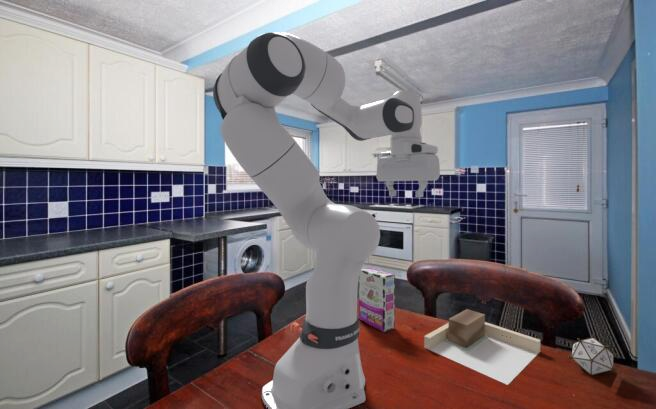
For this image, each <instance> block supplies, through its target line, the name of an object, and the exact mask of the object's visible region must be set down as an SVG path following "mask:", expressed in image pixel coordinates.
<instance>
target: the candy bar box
mask: <svg viewBox="0 0 656 409" xmlns="http://www.w3.org/2000/svg"><path fill="white" fill-rule="evenodd" d="M395 290H396V275H395V274H393V273H391V272H387V271H383V270H379V269H377V268H373V267H364V268H362V270H361V273H360V276H359V281H358V304H359V305H358V310H359V311H358V313H359V314H358V317H359V319H360V320H362V321H364V322H365V323H364V322H363V323H364V324H366V323H367V324H366V325H368V324H369V326H370V325H371V326H370V327H372V326H373V328H374V329H377V330H379V331H381V332H383V333H386V332H388V331H391V330H394V329H395V327H396V326H395V325H396V323H395V321H396V315H395V314H396V310H395V309H396V303H395V302H396V300H395V299H396V291H395ZM360 320H359V321H360ZM362 321H361V322H362Z"/></svg>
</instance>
